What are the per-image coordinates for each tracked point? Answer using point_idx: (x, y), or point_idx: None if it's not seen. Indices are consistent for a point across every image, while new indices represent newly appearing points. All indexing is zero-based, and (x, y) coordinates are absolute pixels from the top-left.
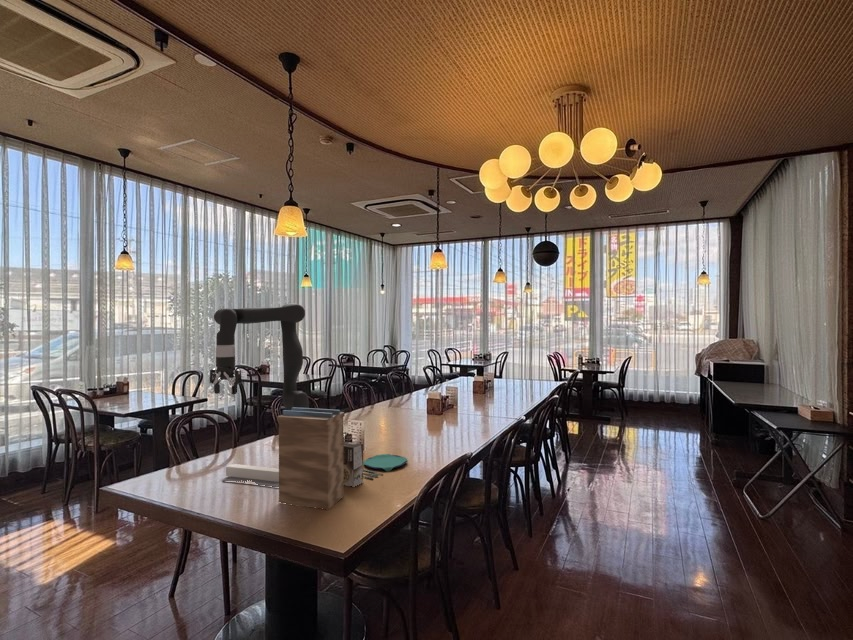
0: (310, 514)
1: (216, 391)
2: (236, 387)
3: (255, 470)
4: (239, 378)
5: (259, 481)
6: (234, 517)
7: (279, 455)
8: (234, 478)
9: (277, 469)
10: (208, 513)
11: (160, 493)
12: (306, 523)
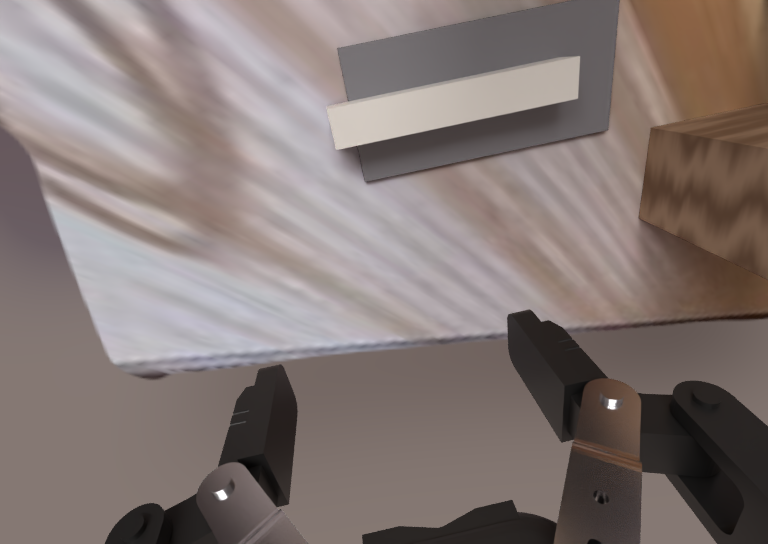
0: None
1: (293, 420)
2: (592, 375)
3: (473, 120)
4: (764, 478)
5: (492, 127)
6: (579, 313)
7: (766, 276)
8: (387, 148)
9: (556, 76)
10: None
11: (290, 320)
12: None
